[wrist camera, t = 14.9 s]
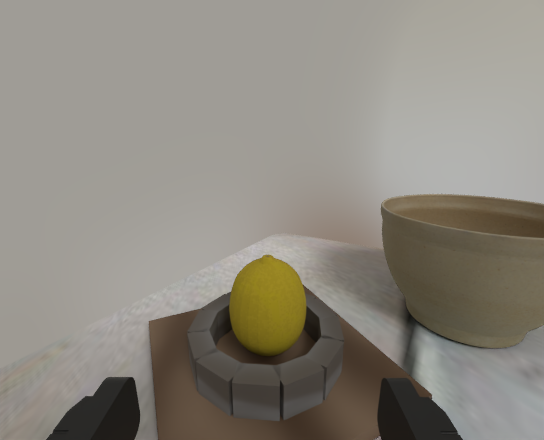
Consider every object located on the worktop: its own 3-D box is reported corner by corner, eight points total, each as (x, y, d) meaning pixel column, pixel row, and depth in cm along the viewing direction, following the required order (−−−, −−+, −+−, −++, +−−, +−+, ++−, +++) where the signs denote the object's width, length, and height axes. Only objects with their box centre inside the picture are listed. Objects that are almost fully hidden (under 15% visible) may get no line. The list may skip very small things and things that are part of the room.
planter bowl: (506, 285, 34) (529, 195, 31) (643, 404, 18) (713, 248, 16) (365, 272, 37) (372, 189, 34) (382, 362, 22) (399, 228, 19)
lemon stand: (302, 291, 32) (302, 263, 31) (429, 407, 18) (438, 362, 17) (150, 330, 26) (145, 296, 25) (168, 555, 12) (159, 496, 11)
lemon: (216, 353, 22) (210, 256, 19) (268, 321, 25) (268, 237, 23) (267, 398, 18) (266, 283, 16) (319, 353, 22) (324, 255, 19)
